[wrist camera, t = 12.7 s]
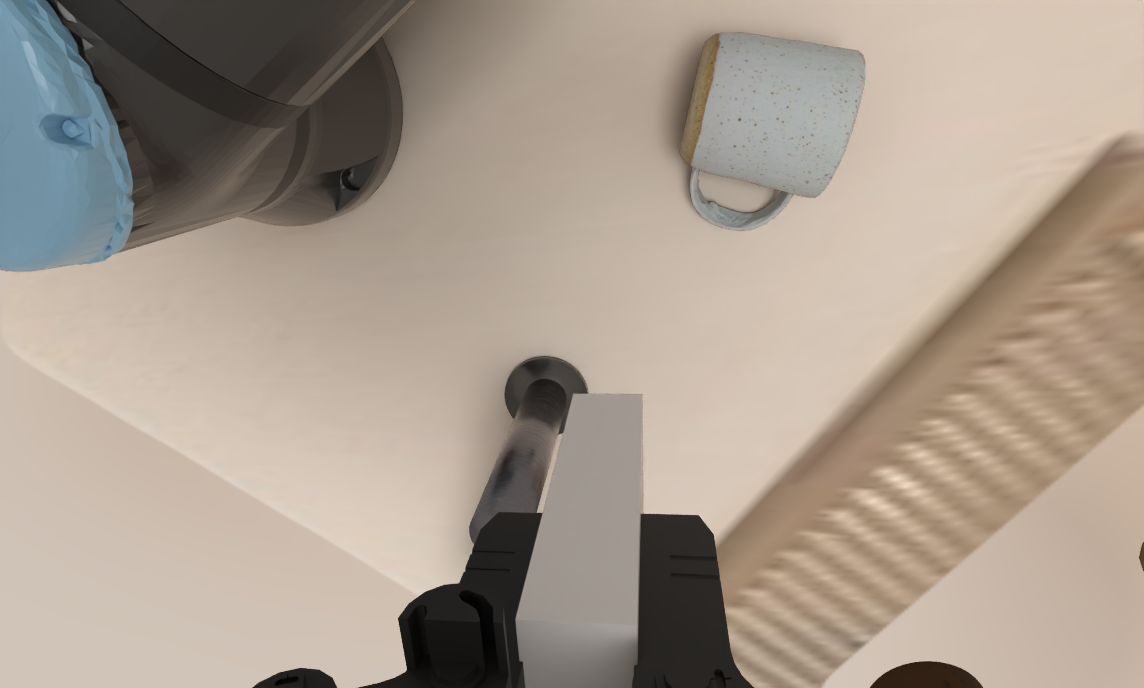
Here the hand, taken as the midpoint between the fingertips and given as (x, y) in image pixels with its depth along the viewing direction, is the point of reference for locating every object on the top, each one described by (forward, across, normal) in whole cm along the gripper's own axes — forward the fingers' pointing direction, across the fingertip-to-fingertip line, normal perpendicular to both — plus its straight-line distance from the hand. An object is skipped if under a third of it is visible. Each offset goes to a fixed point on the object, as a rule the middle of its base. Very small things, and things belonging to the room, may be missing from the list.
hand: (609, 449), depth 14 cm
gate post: (+29, -6, -12) cm, 33 cm away
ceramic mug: (+30, +7, +5) cm, 31 cm away
